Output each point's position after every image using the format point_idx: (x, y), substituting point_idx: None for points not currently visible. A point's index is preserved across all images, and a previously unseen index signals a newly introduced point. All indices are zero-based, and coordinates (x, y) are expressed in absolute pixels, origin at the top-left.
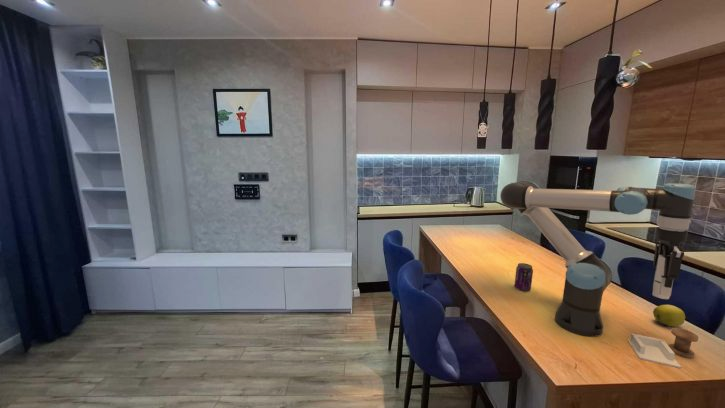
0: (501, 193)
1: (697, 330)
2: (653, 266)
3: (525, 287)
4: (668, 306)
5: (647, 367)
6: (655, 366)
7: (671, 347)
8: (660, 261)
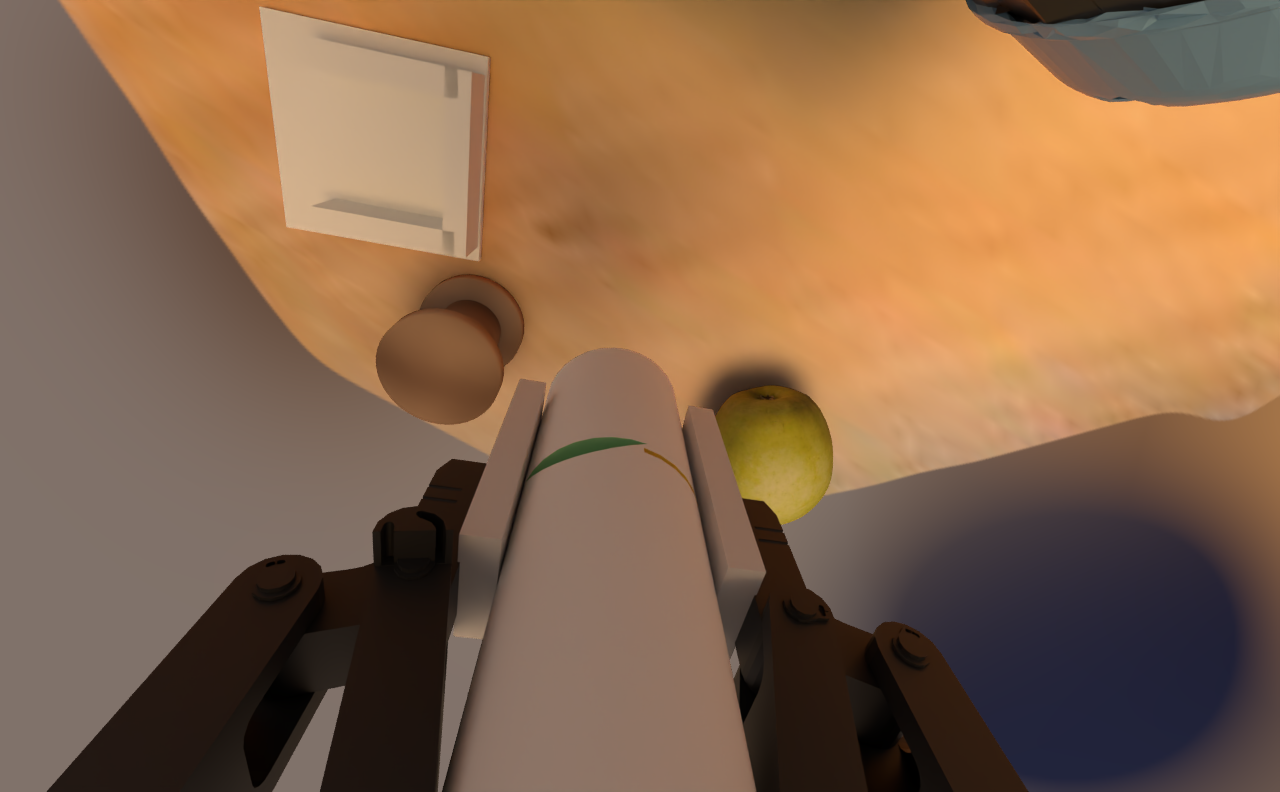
0: None
1: None
2: (899, 634)
3: None
4: (780, 479)
5: (180, 5)
6: (227, 74)
7: (468, 288)
8: None
